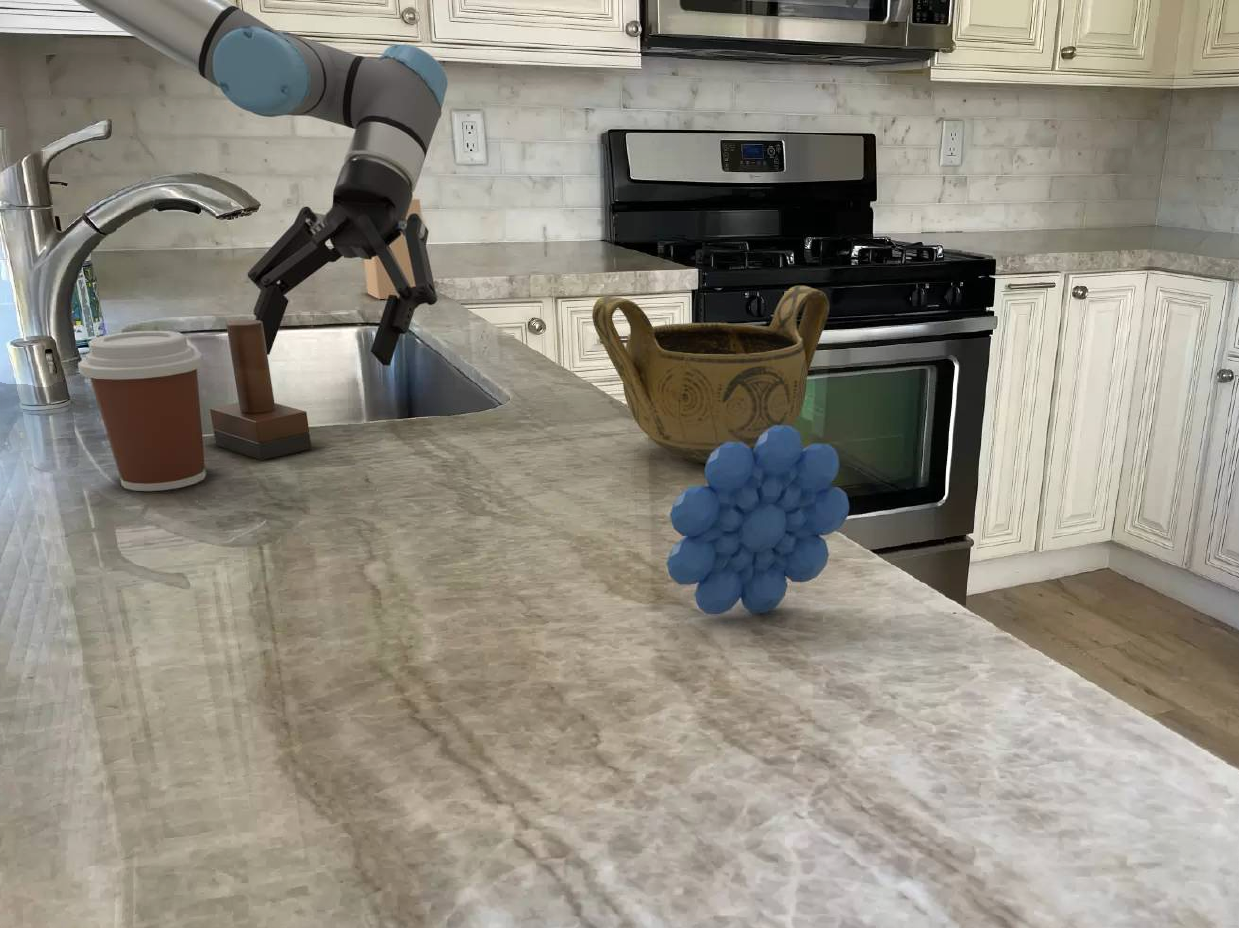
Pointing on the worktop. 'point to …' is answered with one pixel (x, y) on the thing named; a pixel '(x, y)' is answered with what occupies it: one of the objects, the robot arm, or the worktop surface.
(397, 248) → the soap dispenser
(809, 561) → the blue flower shape
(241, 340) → the rubber stamp
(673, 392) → the ceramic bowl
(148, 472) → the coffee cup
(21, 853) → the worktop surface
